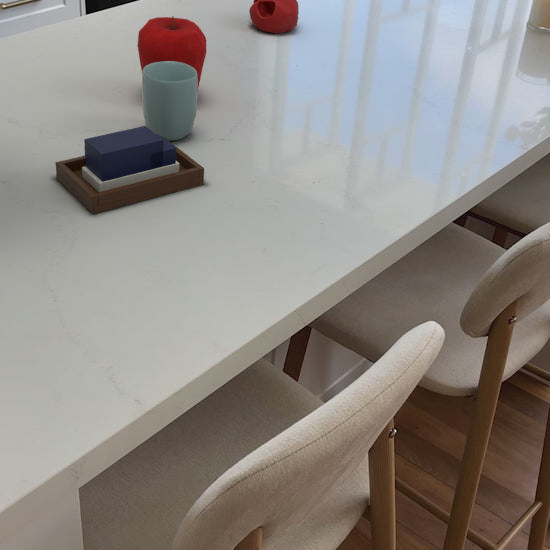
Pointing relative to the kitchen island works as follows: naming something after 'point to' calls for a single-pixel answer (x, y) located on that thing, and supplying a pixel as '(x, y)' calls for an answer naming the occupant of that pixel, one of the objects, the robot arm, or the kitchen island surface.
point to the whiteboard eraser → (127, 158)
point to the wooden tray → (132, 193)
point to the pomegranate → (274, 15)
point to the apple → (172, 43)
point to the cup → (169, 98)
